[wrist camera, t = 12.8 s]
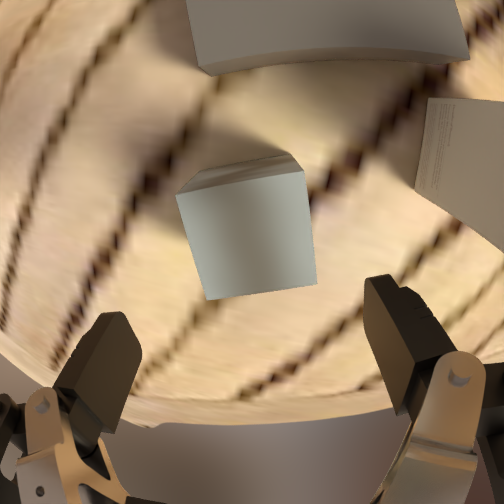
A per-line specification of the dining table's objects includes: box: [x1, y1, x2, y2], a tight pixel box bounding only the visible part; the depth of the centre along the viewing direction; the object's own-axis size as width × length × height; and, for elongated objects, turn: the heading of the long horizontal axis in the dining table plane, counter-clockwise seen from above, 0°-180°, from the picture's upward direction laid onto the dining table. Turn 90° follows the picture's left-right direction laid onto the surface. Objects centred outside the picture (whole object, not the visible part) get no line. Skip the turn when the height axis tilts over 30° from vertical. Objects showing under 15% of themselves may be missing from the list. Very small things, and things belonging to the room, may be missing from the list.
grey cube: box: [175, 154, 317, 300], centre depth 17 cm, size 6×6×6 cm
